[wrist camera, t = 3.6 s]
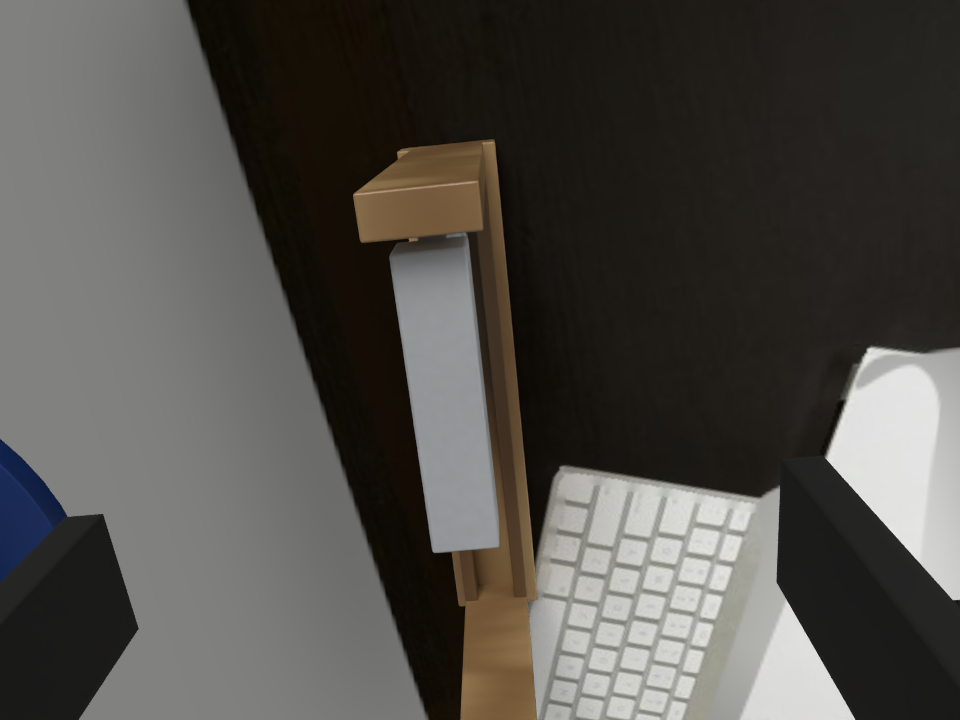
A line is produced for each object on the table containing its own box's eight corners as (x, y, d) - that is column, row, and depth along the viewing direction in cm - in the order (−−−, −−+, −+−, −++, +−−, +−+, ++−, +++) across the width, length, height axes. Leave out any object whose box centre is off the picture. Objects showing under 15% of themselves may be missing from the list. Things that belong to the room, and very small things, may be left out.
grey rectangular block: (451, 393, 34) (432, 554, 22) (426, 191, 31) (388, 254, 19) (495, 389, 34) (499, 548, 22) (474, 186, 31) (466, 246, 19)
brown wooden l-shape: (460, 588, 39) (444, 867, 25) (400, 148, 32) (331, 195, 18) (536, 582, 39) (563, 859, 25) (494, 139, 32) (500, 178, 17)
